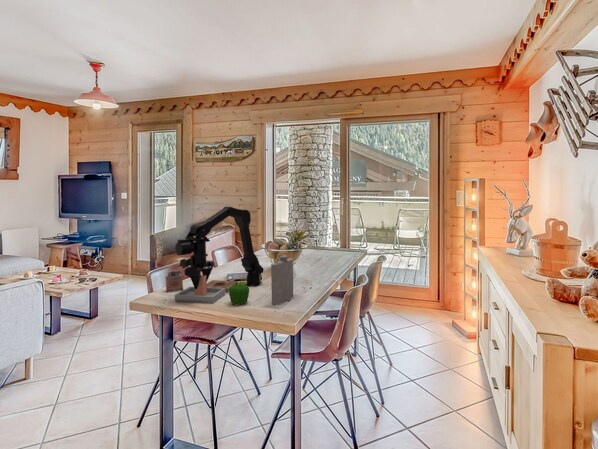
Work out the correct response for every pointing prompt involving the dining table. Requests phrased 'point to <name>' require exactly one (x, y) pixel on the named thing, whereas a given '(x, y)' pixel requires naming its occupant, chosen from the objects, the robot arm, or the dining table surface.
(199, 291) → the brown tall block
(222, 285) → the socket block
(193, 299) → the tray
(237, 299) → the bell pepper
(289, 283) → the hip flask
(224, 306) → the dining table surface
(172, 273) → the lighter
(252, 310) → the dining table surface
